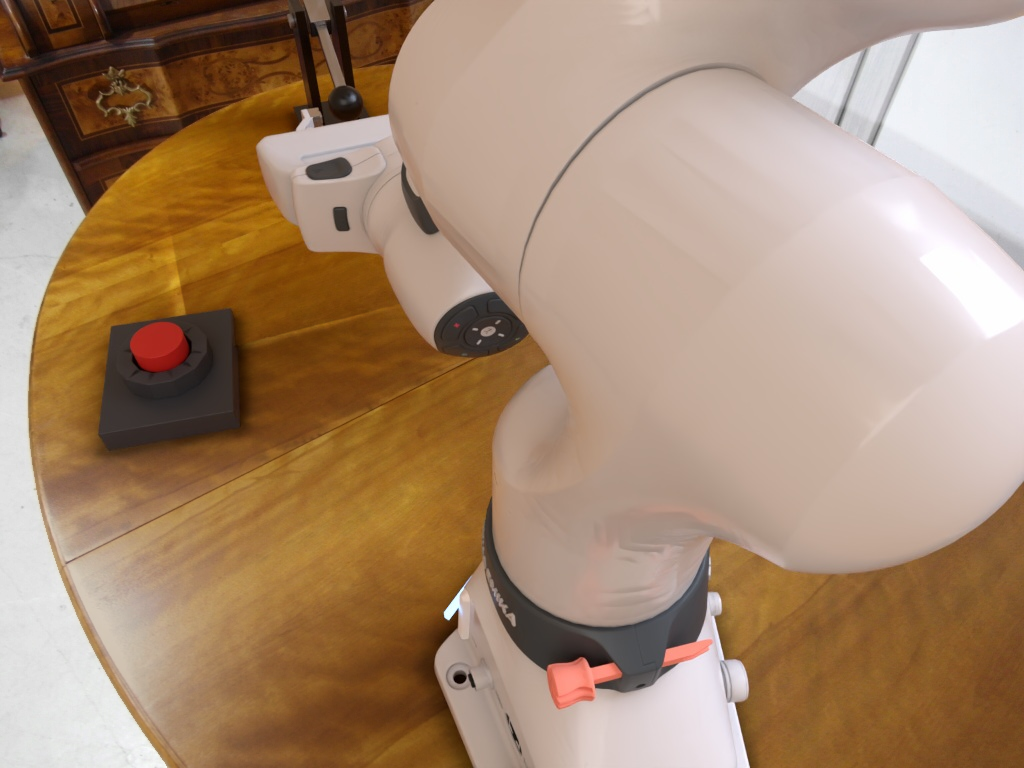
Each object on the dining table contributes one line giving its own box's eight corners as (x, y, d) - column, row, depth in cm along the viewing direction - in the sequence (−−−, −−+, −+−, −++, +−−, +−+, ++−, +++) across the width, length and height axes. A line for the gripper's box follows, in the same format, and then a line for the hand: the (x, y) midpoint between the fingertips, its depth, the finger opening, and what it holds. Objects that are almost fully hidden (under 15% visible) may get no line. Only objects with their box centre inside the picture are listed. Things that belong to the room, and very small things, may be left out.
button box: (240, 427, 62) (227, 395, 59) (108, 451, 60) (88, 419, 57) (237, 325, 70) (225, 292, 67) (120, 343, 68) (102, 310, 65)
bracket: (379, 141, 90) (363, 12, 79) (311, 155, 88) (284, 23, 76) (359, 104, 95) (342, -23, 84) (294, 116, 93) (267, -13, 82)
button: (189, 368, 61) (182, 352, 60) (136, 376, 61) (128, 361, 59) (189, 333, 64) (183, 317, 63) (138, 341, 63) (131, 325, 62)
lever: (367, 125, 82) (368, 105, 78) (333, 132, 81) (333, 112, 77) (331, 15, 84) (330, -9, 81) (298, 20, 83) (295, -4, 80)
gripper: (539, 132, 59) (475, 52, 68) (271, 185, 54) (237, 91, 62) (535, 200, 64) (476, 118, 72) (288, 256, 59) (255, 160, 67)
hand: (364, 106), depth 67 cm, fingers open, 8 cm apart
